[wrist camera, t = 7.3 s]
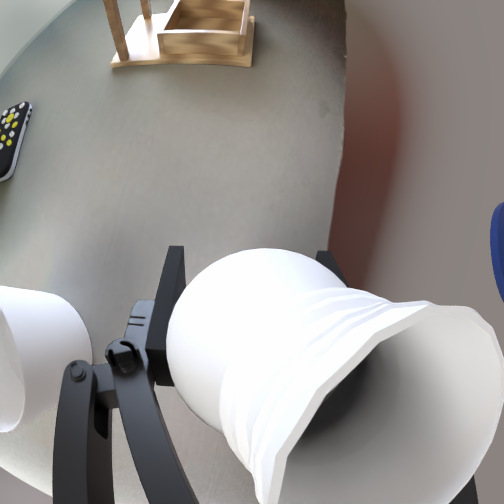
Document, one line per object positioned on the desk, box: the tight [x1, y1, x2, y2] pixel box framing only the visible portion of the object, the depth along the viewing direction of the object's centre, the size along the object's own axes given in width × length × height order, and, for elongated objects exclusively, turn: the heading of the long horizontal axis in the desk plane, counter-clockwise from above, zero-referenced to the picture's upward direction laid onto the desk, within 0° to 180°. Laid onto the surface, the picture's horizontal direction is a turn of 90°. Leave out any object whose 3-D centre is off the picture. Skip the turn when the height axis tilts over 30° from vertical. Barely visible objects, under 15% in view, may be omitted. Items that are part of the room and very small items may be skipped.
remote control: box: [0, 102, 32, 182], centre depth 25 cm, size 6×13×2 cm, turn 7°
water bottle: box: [166, 248, 504, 504], centre depth 14 cm, size 7×7×25 cm
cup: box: [0, 286, 93, 433], centre depth 17 cm, size 12×12×12 cm
